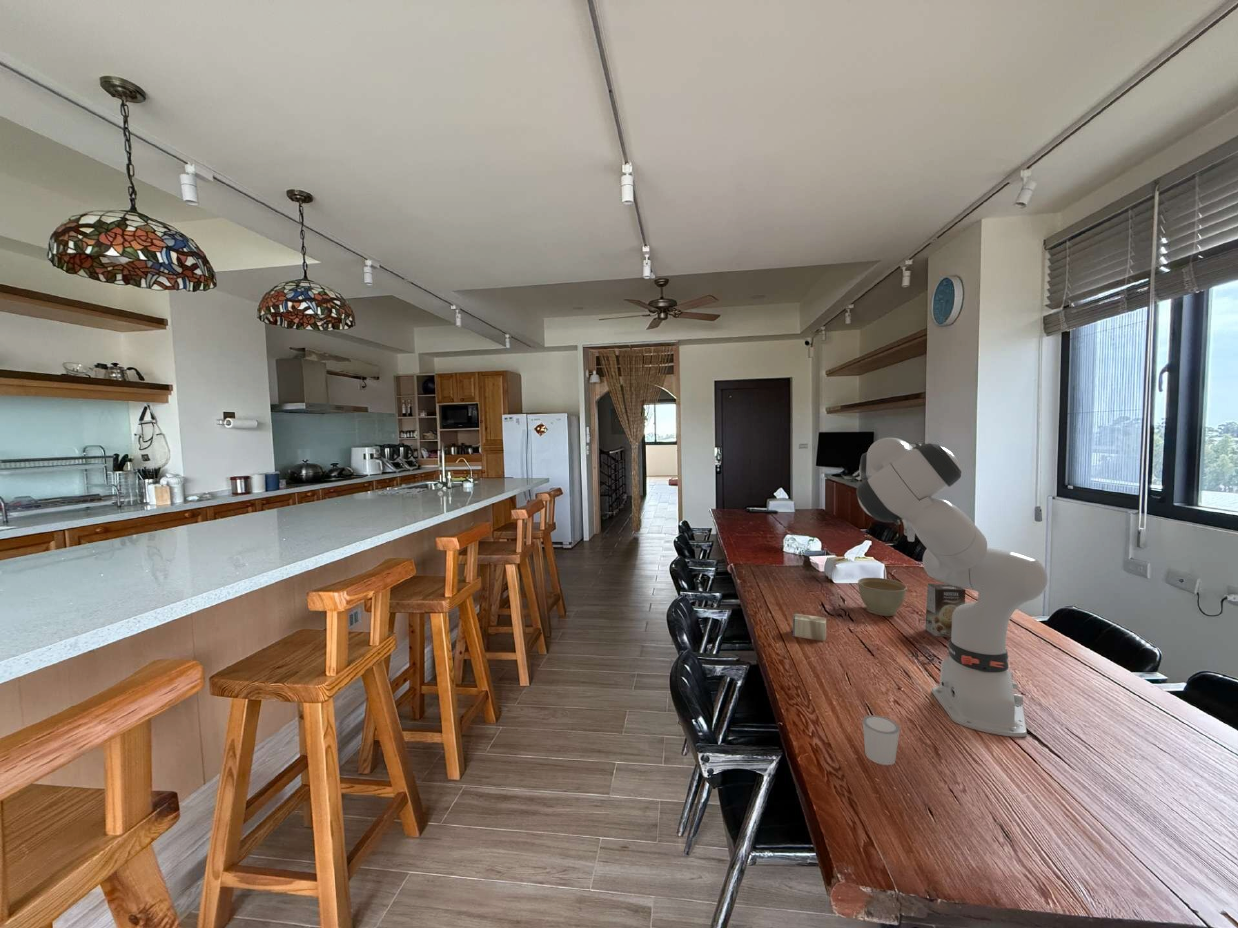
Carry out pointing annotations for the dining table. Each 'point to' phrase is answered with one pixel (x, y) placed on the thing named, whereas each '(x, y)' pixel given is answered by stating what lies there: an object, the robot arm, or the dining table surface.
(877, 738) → the shot glass
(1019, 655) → the dining table surface
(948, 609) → the coffee box
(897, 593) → the planter bowl
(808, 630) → the birch block
